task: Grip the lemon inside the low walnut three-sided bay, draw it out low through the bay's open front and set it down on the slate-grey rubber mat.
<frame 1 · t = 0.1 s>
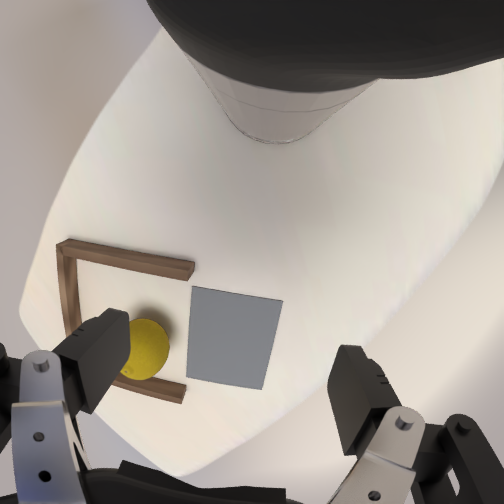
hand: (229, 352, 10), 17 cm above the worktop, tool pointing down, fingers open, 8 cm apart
mat: (229, 343, 30), on the worktop
lemon: (154, 327, 30), on the worktop
bay: (125, 321, 30), on the worktop
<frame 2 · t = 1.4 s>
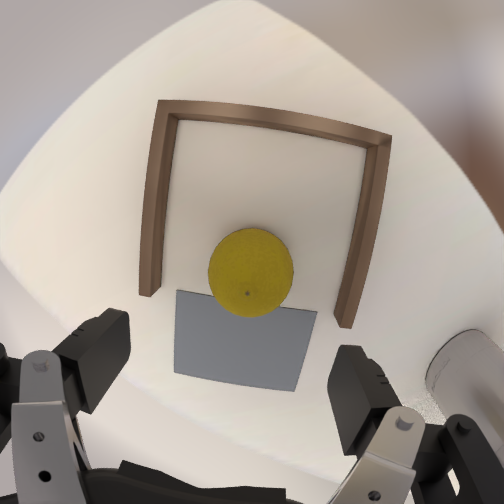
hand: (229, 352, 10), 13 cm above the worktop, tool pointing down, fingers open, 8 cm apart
mat: (239, 346, 25), on the worktop
lemon: (254, 255, 23), on the worktop
bay: (260, 211, 22), on the worktop
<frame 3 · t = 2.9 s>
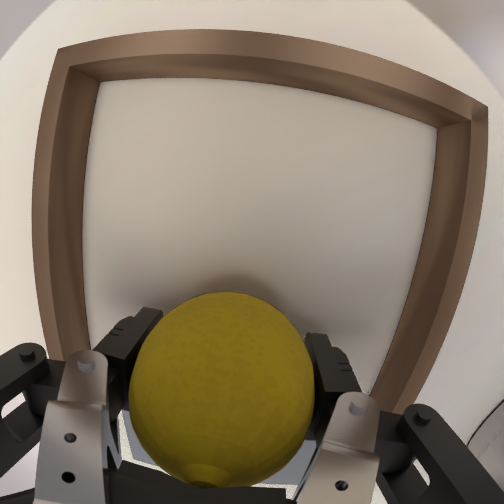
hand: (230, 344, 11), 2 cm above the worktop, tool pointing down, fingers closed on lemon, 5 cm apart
mat: (219, 443, 14), on the worktop
lemon: (235, 322, 12), on the worktop, touching gripper
bay: (246, 245, 11), on the worktop
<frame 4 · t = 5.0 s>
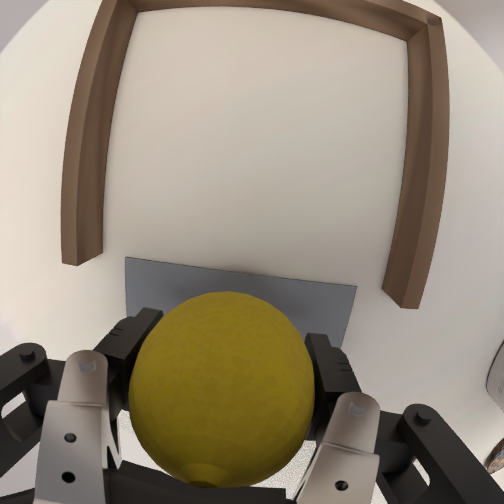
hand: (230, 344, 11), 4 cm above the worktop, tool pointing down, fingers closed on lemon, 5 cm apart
mat: (230, 349, 15), on the worktop
lemon: (235, 322, 12), point 2 cm above the worktop, touching gripper
bay: (257, 116, 12), on the worktop
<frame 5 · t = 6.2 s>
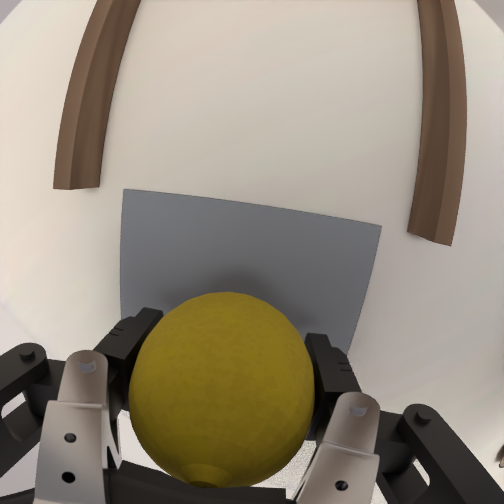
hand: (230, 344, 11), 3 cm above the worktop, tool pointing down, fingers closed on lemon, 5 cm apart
mat: (238, 300, 13), on the worktop
lemon: (235, 322, 12), point 1 cm above the worktop, touching gripper
bay: (275, 46, 11), on the worktop
when the fingers open (3 cm above the worktop, at t = 6.9 s): lemon drops 1 cm, resting on mat.
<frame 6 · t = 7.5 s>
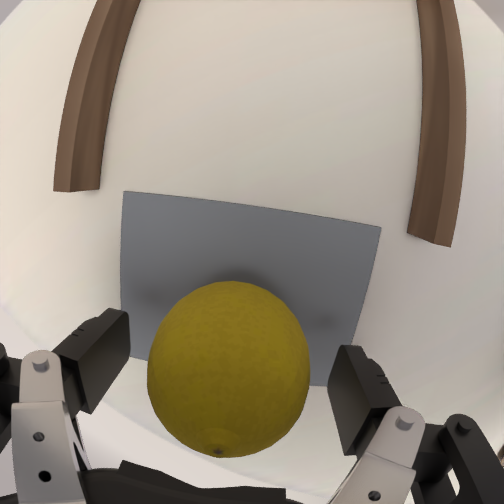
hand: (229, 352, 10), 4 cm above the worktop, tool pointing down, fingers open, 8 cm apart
mat: (238, 301, 14), on the worktop
lemon: (237, 310, 14), resting on mat
bay: (274, 48, 11), on the worktop
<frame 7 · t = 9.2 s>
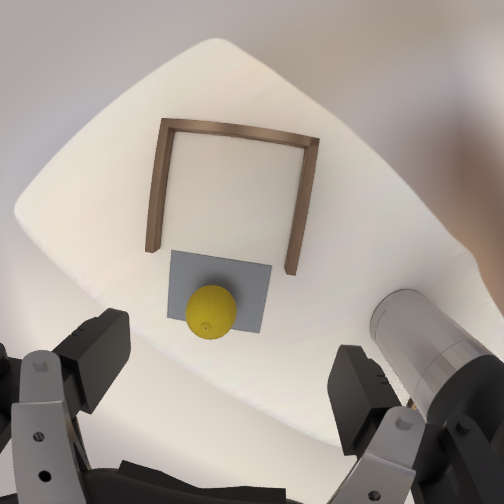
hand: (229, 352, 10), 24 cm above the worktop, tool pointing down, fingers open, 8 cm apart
mat: (216, 293, 35), on the worktop
lemon: (216, 296, 35), resting on mat
bay: (230, 193, 32), on the worktop
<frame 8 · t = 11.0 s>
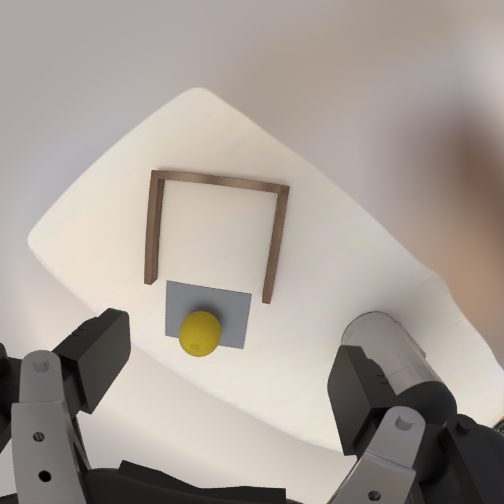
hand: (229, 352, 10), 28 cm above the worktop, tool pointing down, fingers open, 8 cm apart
medicine bottle: (497, 426, 49), on the worktop
mat: (205, 316, 41), on the worktop
lemon: (205, 319, 41), resting on mat
bay: (213, 234, 38), on the worktop
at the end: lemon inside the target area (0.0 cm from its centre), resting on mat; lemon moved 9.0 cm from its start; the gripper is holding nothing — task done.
